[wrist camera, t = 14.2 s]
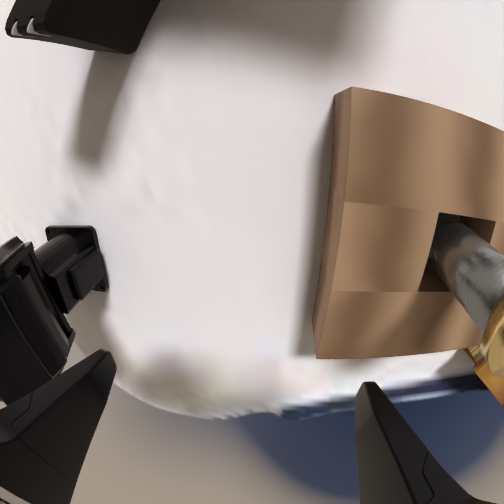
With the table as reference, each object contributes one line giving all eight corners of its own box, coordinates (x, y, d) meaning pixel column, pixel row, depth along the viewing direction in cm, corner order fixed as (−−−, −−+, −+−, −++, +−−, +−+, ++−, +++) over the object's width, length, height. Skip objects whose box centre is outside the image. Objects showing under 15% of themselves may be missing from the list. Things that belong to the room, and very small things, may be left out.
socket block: (312, 321, 23) (316, 359, 19) (334, 94, 15) (351, 86, 11) (470, 316, 22) (489, 343, 18) (516, 145, 14) (549, 156, 10)
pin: (413, 270, 20) (488, 391, 9) (394, 218, 19) (495, 335, 7) (460, 241, 19) (552, 339, 7) (446, 188, 17) (567, 270, 5)
